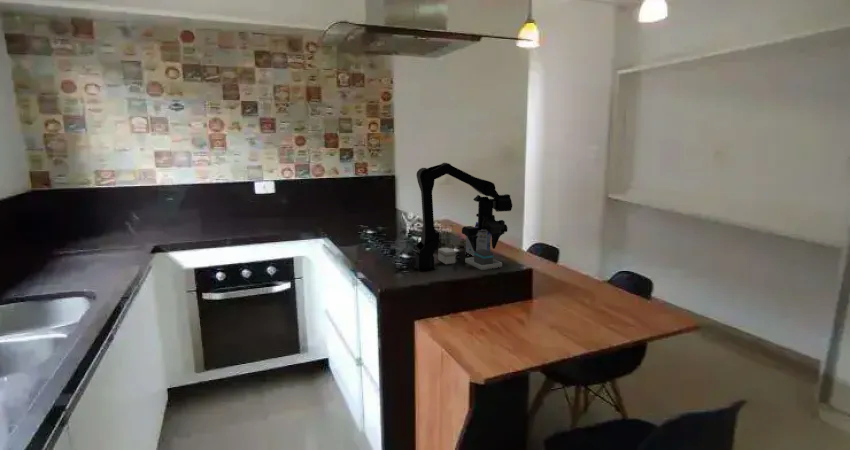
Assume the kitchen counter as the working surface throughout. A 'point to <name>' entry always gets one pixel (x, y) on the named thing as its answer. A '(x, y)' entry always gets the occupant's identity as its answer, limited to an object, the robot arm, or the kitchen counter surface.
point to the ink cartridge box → (479, 242)
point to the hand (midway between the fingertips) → (484, 249)
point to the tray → (483, 267)
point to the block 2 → (483, 257)
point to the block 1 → (446, 255)
